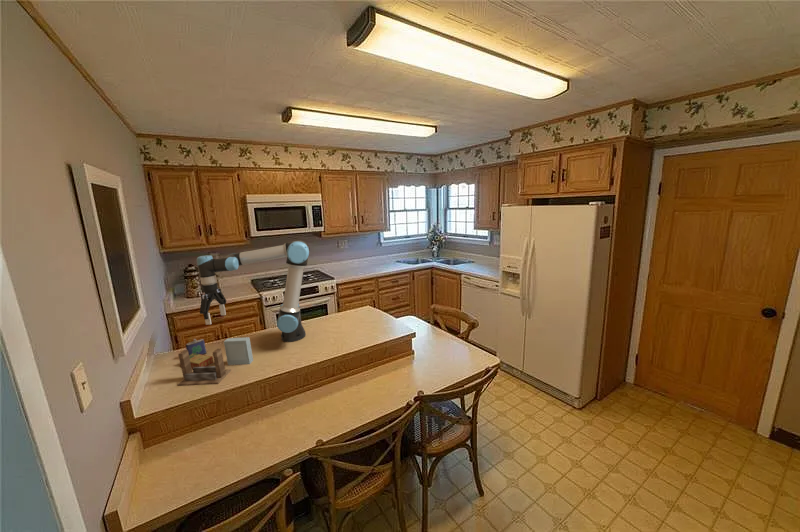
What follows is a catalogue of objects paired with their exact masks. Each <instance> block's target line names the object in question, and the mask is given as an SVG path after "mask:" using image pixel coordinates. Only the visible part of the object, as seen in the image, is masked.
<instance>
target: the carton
mask: <svg viewBox="0 0 800 532" xmlns="http://www.w3.org/2000/svg"><path fill="white" fill-rule="evenodd" d="M189 358H190V363H191V367H192V368H193V367H207V366H210V365H212V364H215V363H214V357H213V355H208V354H204V355H202V354H197V353H192V354H190V355H189Z"/></svg>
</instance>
